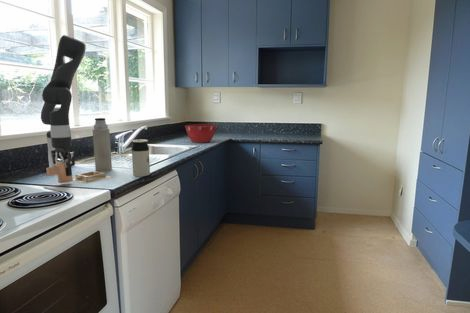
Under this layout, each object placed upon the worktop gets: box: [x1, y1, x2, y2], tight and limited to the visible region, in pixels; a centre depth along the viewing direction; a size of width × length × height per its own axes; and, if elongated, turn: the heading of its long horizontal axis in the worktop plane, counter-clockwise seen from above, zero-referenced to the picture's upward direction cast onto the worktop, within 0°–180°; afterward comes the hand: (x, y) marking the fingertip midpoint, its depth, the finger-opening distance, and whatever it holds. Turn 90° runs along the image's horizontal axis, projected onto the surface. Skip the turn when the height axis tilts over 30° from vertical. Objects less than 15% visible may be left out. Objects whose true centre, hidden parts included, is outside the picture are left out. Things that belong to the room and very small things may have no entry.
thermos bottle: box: [92, 117, 113, 172], centre depth 166 cm, size 8×8×28 cm
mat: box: [43, 186, 62, 193], centre depth 139 cm, size 12×12×1 cm
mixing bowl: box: [184, 123, 217, 144], centre depth 286 cm, size 28×28×16 cm
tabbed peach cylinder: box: [46, 160, 74, 184], centre depth 136 cm, size 10×6×9 cm, turn 148°
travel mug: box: [131, 138, 151, 177], centre depth 157 cm, size 8×8×18 cm
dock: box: [72, 170, 113, 184], centre depth 150 cm, size 14×14×3 cm
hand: (64, 174), depth 138 cm, fingers closed on tabbed peach cylinder, 5 cm apart
